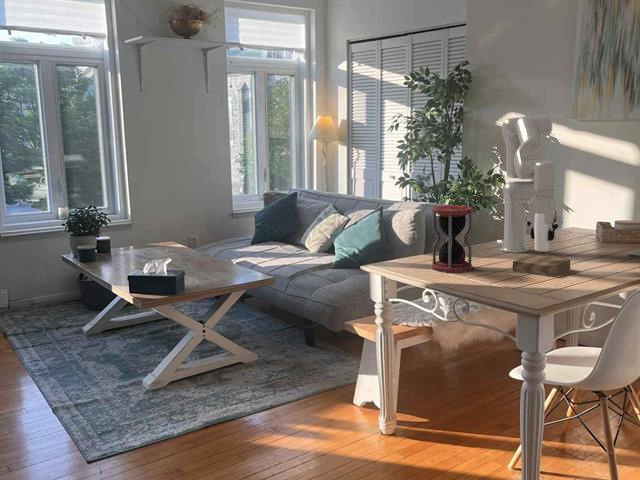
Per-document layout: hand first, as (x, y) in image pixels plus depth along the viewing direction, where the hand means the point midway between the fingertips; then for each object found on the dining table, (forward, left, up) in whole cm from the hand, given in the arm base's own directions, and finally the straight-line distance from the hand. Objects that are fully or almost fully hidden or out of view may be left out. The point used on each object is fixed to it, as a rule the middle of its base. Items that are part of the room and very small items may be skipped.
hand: (542, 239), depth 246 cm
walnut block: (0, 0, -13) cm, 13 cm away
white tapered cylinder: (0, 0, -5) cm, 5 cm away
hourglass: (-29, -19, -13) cm, 37 cm away
